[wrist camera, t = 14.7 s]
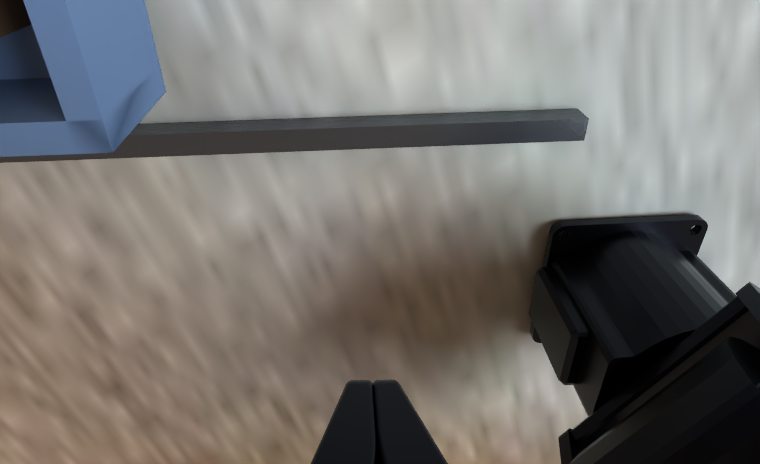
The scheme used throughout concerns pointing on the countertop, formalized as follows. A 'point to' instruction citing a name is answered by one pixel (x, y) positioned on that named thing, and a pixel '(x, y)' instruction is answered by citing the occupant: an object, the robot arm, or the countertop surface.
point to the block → (13, 16)
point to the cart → (77, 77)
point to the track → (340, 134)
